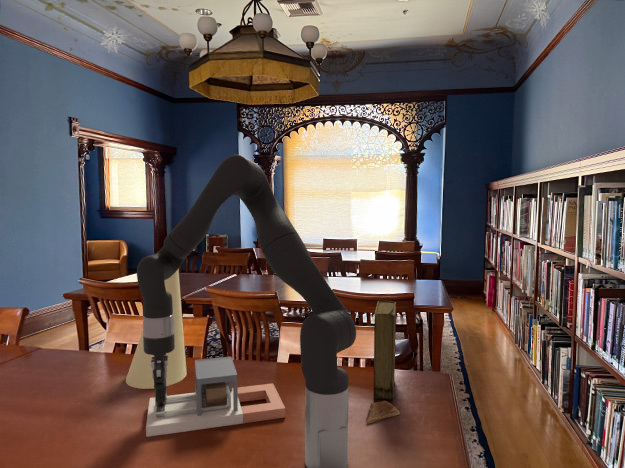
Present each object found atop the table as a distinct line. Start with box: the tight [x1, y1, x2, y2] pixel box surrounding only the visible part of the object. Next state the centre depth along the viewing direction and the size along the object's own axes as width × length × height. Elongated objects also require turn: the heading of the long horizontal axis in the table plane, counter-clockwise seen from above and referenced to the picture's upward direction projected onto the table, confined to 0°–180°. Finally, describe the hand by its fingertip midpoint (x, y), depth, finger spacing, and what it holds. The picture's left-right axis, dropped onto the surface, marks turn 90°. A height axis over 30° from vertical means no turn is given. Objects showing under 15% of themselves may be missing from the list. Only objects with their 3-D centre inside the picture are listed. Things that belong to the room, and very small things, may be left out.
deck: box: [145, 383, 286, 438], centre depth 120 cm, size 16×34×2 cm, turn 106°
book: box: [372, 300, 397, 402], centre depth 133 cm, size 16×6×25 cm, turn 168°
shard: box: [365, 400, 401, 425], centre depth 120 cm, size 11×8×2 cm
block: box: [205, 382, 226, 406], centre depth 120 cm, size 5×5×5 cm
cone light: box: [125, 268, 187, 390], centre depth 145 cm, size 25×18×35 cm
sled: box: [154, 378, 231, 417], centre depth 118 cm, size 9×19×8 cm, turn 107°
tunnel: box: [194, 356, 238, 416], centre depth 121 cm, size 14×10×10 cm
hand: (160, 397), depth 116 cm, fingers closed on sled, 3 cm apart
